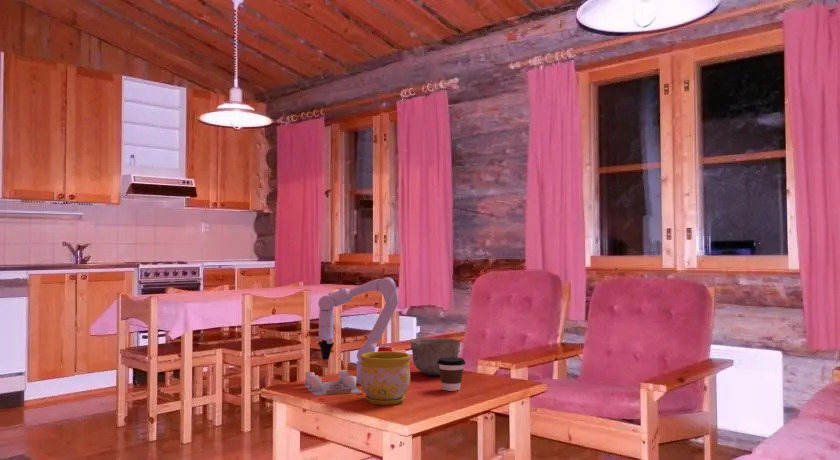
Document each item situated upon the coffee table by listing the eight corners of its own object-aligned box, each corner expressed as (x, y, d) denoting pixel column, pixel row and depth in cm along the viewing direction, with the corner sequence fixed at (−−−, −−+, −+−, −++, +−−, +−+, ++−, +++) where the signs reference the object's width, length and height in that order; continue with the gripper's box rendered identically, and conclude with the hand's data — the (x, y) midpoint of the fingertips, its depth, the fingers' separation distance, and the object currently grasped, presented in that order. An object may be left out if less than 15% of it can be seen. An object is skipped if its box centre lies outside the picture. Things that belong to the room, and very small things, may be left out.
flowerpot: (416, 405, 231) (416, 358, 231) (365, 408, 226) (366, 359, 226) (402, 394, 248) (403, 350, 249) (355, 397, 243) (356, 352, 244)
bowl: (407, 370, 299) (407, 337, 299) (455, 370, 301) (455, 337, 302) (412, 379, 277) (412, 343, 277) (463, 379, 279) (464, 343, 280)
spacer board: (347, 383, 267) (347, 369, 268) (362, 395, 246) (362, 380, 246) (302, 386, 261) (303, 372, 261) (314, 398, 240) (314, 383, 240)
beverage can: (389, 375, 287) (390, 347, 287) (375, 374, 288) (376, 346, 288) (393, 372, 293) (393, 345, 293) (379, 372, 294) (380, 344, 294)
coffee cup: (469, 389, 260) (469, 358, 260) (459, 394, 250) (459, 362, 250) (443, 386, 264) (443, 356, 265) (432, 391, 254) (432, 360, 255)
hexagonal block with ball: (336, 389, 250) (336, 383, 250) (346, 391, 247) (346, 384, 247) (327, 391, 247) (327, 384, 247) (337, 393, 243) (337, 386, 243)
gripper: (312, 323, 271) (312, 357, 270) (320, 327, 257) (319, 363, 257) (329, 323, 273) (329, 356, 273) (337, 327, 260) (337, 362, 259)
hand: (325, 359), depth 265 cm, fingers closed
